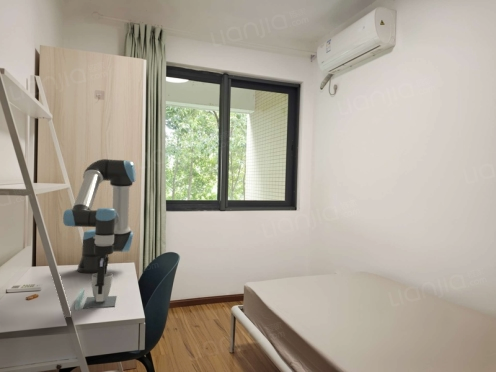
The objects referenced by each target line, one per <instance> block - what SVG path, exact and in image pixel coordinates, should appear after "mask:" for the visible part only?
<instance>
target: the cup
mask: <svg viewBox="0 0 496 372" xmlns="http://www.w3.org/2000/svg"><path fill="white" fill-rule="evenodd" d="M97 274H98V272H97V273H92V274H91V291H92V295H93V296H92V297H94V299H95V300H96V294H97V286H95V285H96V284H97ZM113 276H114V275H113V273H112V272H108V271H107V272H106V274H105V277H104V298H103V300H105V299H107V297H108V296H110V295H109V294H110V291H111V287H112V283H113V282H112V281H113V280H112V279H113Z"/></svg>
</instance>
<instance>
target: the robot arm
mask: <svg viewBox="0 0 496 372" xmlns="http://www.w3.org/2000/svg"><path fill="white" fill-rule="evenodd" d="M135 167H136V166H135V163H134V162H133V161H130V160H129V161H128V160H125V159H124V160H123V159H107V158H102V159H99V160H96V161H94V162H92V163H91V164H90V165H88V166H87V167H86V169H85V170H84V172H83V174H82V175H83V176H82V179H83V181H82V182H81V185H80V188H79V191H78V193H77V196H76V199H75V201H74V204H73V206H72V208H69V209H65V211H64V212H63V216H62V221H63V222H62V223H63V225H64V226H66V227H74V228H75V227H77V228H80V227H82V228H87V227H88V228H93V229H88V230H85V231H84V232H83V235H82V248H81V252H82V253H81V258H80V261H79V263H78V266H77V272H79V273H83V274H95V273H98V274H97V284H96V285H95V286H97V294H96V302H100V301H103V298H104V277H105V274H106V272H108V264H109V255H112V254H113V253H114V252H117V253H119V252H121V253H123V252H129V251H130V250H131V246H132V242H133V237H134V231H132V230H131V227H130V226H129V215H130V214H129V213H130V209H129V207H130V188H131V187H132V186H133V183H135V182H136V169H135ZM103 181H109V184H110V186H111V187H112V207H99V208H97V209H96V210H93V209H92V207H93V204H94V201H95V198H96V195H97V192H98V189H99V186H100V184H102V182H103Z"/></svg>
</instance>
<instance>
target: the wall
mask: <svg viewBox="0 0 496 372" xmlns="http://www.w3.org/2000/svg"><path fill="white" fill-rule="evenodd" d="M84 299H85V288H81V289H80V292H79V293H78V295H77V298H76V299H75V307H74V309H75V311H79V309H80V306H81V304H82V302H83V300H84Z"/></svg>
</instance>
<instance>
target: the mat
mask: <svg viewBox="0 0 496 372" xmlns="http://www.w3.org/2000/svg"><path fill="white" fill-rule="evenodd" d="M117 296H118V295H108V297H107V299H105V300H103V301H100V302H96V300H95V299H94V296H90V297H89V296H88V297H86V299H85V301H84V303H83V306H82V309H83V310H84V309H85V310H86V309H99V308H100V309H102V308H103V309H104V308H115V307H116V301H117Z"/></svg>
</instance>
